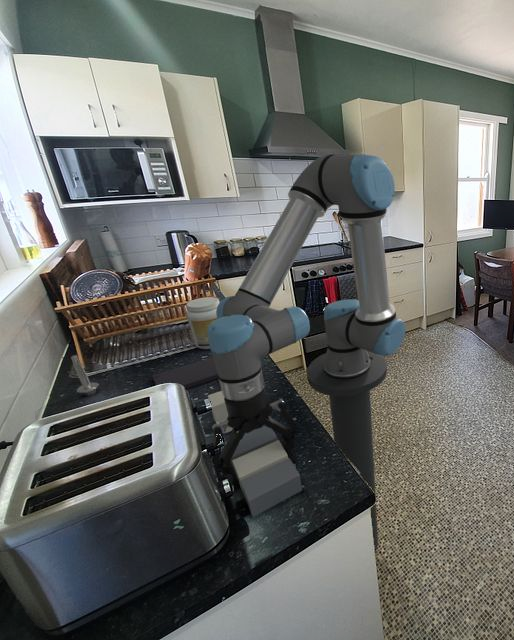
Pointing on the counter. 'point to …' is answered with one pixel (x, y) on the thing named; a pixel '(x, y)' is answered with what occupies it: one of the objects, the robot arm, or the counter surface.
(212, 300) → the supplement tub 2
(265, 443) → the grey block
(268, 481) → the grey beveled block
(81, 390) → the screw
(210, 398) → the beige block
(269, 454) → the tan rectangular block
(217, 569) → the counter surface
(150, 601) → the counter surface
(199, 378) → the notebook
